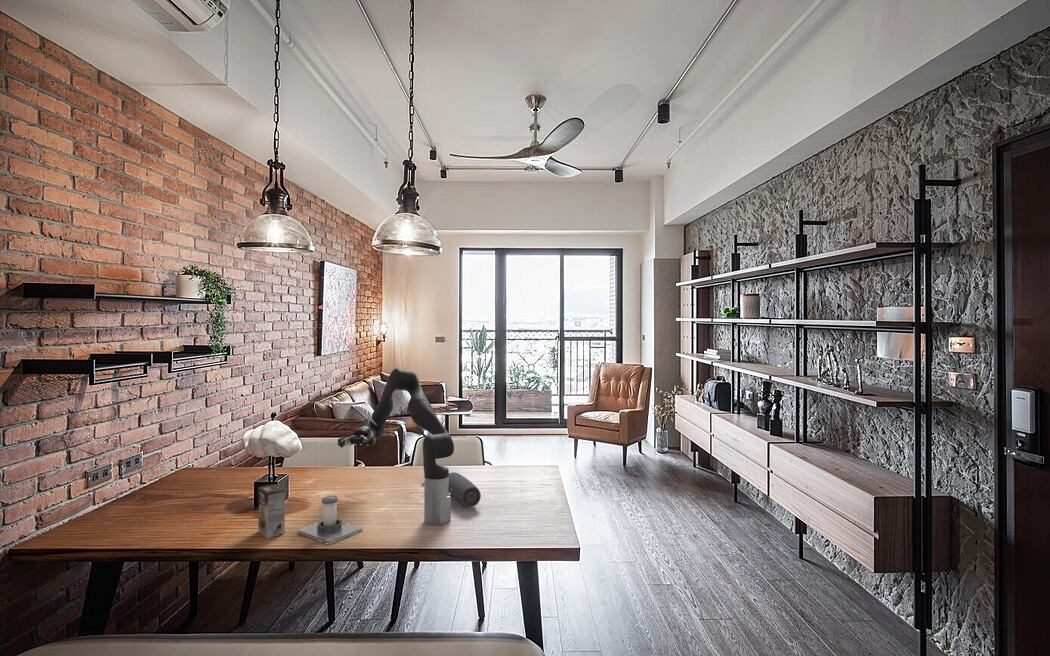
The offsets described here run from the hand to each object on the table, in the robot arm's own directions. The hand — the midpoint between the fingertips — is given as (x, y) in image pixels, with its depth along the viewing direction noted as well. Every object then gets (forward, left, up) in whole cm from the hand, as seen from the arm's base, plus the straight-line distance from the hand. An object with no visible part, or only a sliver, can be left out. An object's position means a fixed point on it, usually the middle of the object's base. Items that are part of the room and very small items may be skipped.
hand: (352, 444), depth 208 cm
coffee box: (+8, +29, -27) cm, 41 cm away
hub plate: (-9, +17, -27) cm, 33 cm away
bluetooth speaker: (-28, -34, -27) cm, 52 cm away
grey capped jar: (-9, +17, -26) cm, 32 cm away
